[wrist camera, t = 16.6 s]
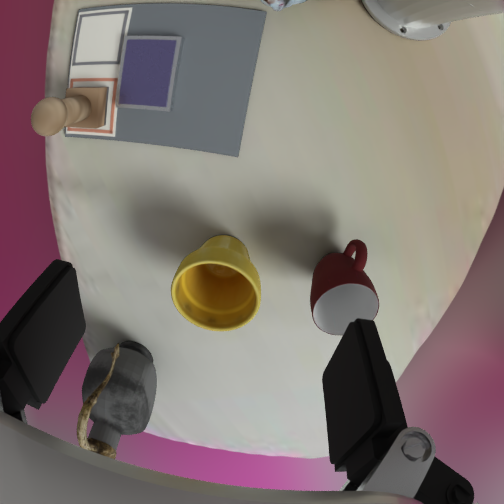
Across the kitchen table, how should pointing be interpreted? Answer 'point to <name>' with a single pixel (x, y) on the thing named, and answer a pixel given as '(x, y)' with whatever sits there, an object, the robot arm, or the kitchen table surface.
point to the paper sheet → (99, 59)
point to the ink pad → (149, 72)
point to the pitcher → (116, 397)
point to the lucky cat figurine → (281, 3)
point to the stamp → (71, 110)
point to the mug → (342, 290)
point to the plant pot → (217, 285)
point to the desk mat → (196, 76)
